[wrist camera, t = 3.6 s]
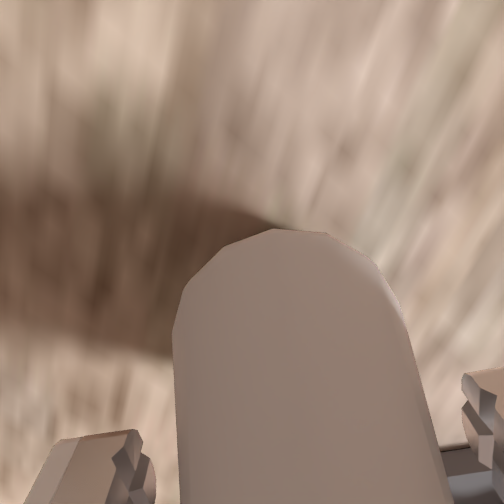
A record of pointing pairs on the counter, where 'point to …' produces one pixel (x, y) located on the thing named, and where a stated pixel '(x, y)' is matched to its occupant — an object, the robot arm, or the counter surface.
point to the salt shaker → (299, 381)
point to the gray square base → (469, 478)
